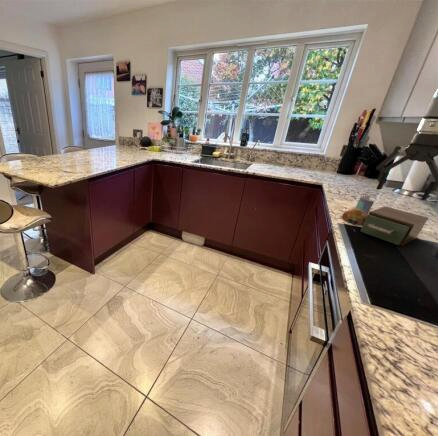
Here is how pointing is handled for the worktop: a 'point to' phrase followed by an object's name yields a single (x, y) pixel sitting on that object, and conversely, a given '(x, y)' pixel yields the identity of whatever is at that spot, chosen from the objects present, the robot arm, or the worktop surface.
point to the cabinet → (402, 221)
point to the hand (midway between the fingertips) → (399, 193)
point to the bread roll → (355, 216)
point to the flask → (364, 203)
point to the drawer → (385, 229)
